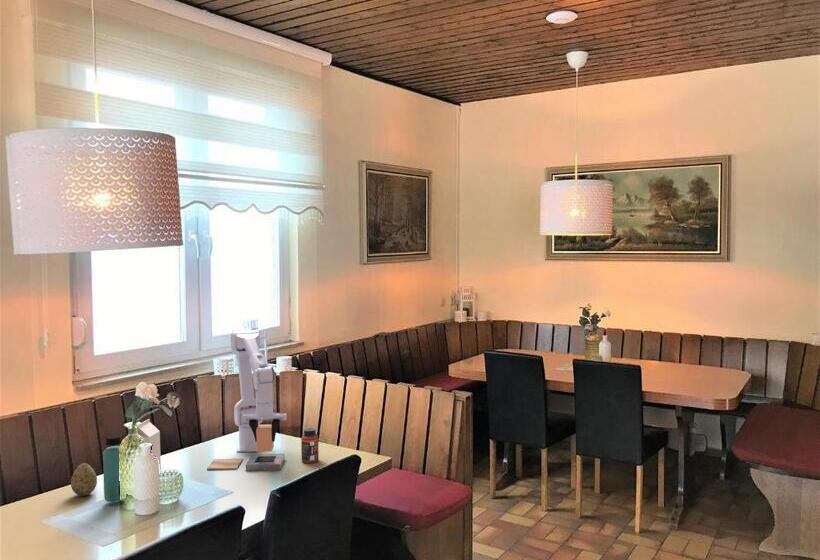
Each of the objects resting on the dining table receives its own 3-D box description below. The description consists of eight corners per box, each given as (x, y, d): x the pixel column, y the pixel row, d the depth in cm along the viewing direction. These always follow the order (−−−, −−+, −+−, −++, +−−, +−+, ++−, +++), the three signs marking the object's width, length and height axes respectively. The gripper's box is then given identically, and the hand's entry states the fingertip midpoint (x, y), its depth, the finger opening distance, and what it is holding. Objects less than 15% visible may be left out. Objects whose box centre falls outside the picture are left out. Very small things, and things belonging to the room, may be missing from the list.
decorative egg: (81, 490, 209) (80, 458, 208) (102, 491, 208) (101, 459, 207) (66, 499, 202) (64, 466, 201) (87, 500, 200) (86, 467, 200)
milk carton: (161, 475, 221) (159, 418, 220) (150, 483, 214) (149, 424, 213) (140, 475, 222) (138, 418, 221) (129, 482, 215) (127, 424, 214)
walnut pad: (213, 460, 236) (213, 459, 236) (242, 460, 237) (242, 458, 237) (207, 470, 226) (206, 468, 226) (236, 469, 227) (236, 467, 227)
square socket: (251, 460, 237) (251, 454, 237) (284, 459, 237) (284, 453, 237) (245, 471, 225) (245, 465, 225) (280, 470, 226) (280, 464, 226)
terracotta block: (259, 447, 233) (258, 424, 233) (273, 447, 234) (273, 424, 233) (256, 451, 228) (256, 428, 228) (271, 451, 229) (271, 428, 228)
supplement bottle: (317, 463, 232) (316, 431, 231) (300, 463, 232) (299, 431, 232) (319, 458, 238) (319, 426, 237) (303, 458, 238) (302, 426, 238)
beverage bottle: (119, 508, 194) (116, 440, 193) (98, 506, 196) (96, 439, 195) (132, 499, 201) (130, 433, 200) (112, 498, 202) (110, 432, 201)
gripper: (240, 405, 226) (241, 444, 226) (284, 404, 227) (284, 443, 227) (244, 400, 233) (245, 438, 233) (286, 399, 234) (287, 437, 234)
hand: (265, 441), depth 231 cm, fingers closed on terracotta block, 5 cm apart
